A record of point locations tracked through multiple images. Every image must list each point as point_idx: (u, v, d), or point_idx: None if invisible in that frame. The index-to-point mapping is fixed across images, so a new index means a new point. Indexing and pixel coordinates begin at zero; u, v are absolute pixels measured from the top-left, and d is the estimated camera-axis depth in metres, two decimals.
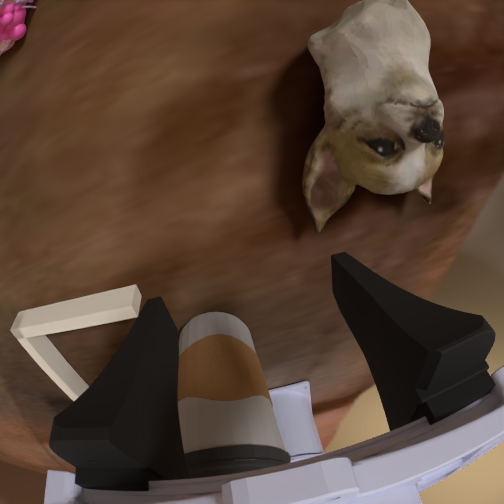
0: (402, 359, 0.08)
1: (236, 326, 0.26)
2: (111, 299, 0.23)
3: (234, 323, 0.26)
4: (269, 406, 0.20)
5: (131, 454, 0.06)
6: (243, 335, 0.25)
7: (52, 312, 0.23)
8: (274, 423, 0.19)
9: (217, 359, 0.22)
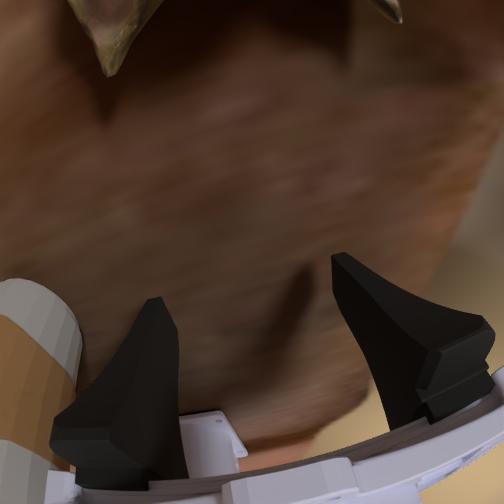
0: (402, 359, 0.08)
1: (32, 302, 0.12)
2: None
3: (31, 298, 0.12)
4: (22, 466, 0.06)
5: (131, 454, 0.06)
6: (37, 321, 0.11)
7: None
8: (18, 503, 0.05)
9: None
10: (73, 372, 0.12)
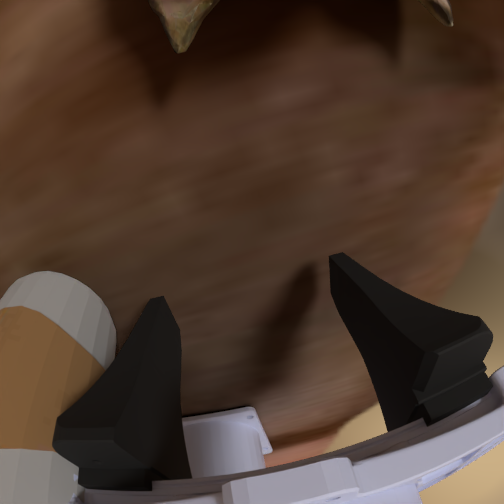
0: (399, 360, 0.08)
1: (66, 296, 0.12)
2: None
3: (64, 291, 0.12)
4: (69, 479, 0.06)
5: (135, 454, 0.06)
6: (73, 316, 0.11)
7: None
8: None
9: None
10: None
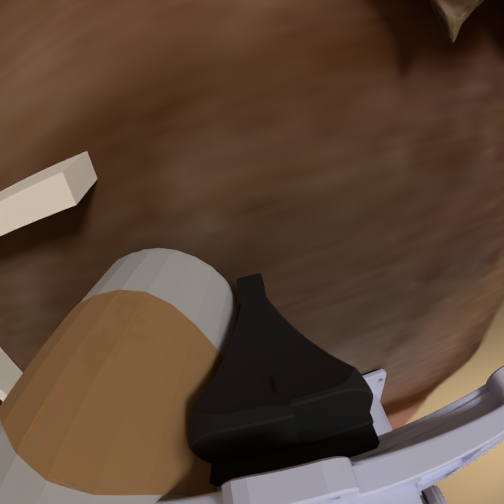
0: None
1: (204, 288, 0.11)
2: (33, 178, 0.09)
3: (201, 281, 0.11)
4: None
5: (296, 430, 0.06)
6: (211, 315, 0.10)
7: None
8: None
9: (97, 351, 0.07)
10: None
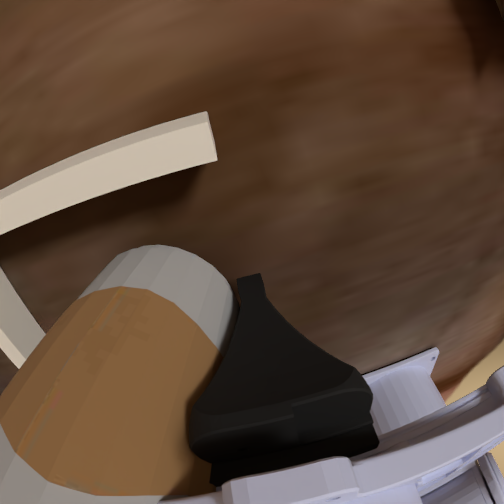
0: None
1: (205, 287, 0.11)
2: (148, 132, 0.09)
3: (202, 280, 0.11)
4: None
5: None
6: (213, 314, 0.10)
7: (8, 189, 0.09)
8: None
9: (98, 349, 0.07)
10: None
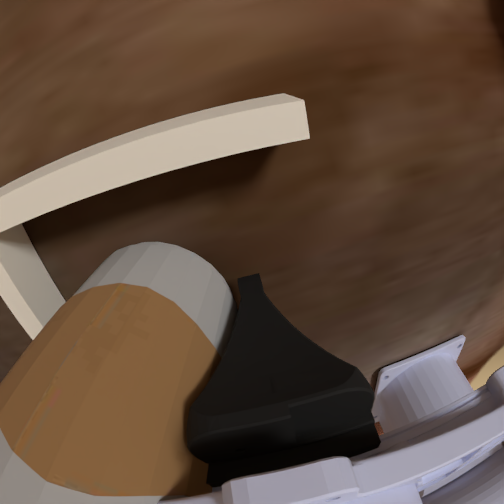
0: None
1: (205, 286, 0.11)
2: (232, 107, 0.09)
3: (201, 279, 0.11)
4: None
5: (294, 431, 0.06)
6: (211, 314, 0.10)
7: (61, 162, 0.09)
8: None
9: (97, 347, 0.07)
10: None
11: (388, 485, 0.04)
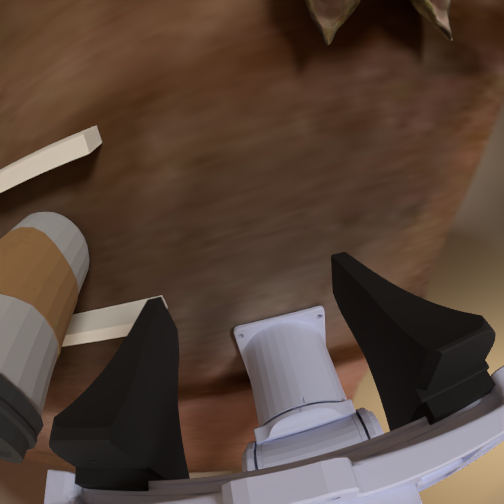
0: (402, 359, 0.08)
1: (62, 228, 0.18)
2: (62, 140, 0.16)
3: (61, 225, 0.18)
4: (35, 324, 0.12)
5: (131, 454, 0.06)
6: (64, 240, 0.17)
7: None
8: (26, 346, 0.11)
9: (7, 247, 0.14)
10: (79, 283, 0.18)
11: (388, 485, 0.04)
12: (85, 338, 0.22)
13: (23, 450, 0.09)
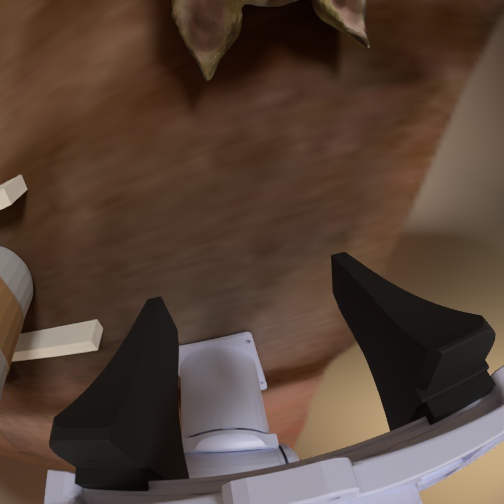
0: (402, 359, 0.08)
1: (7, 261, 0.19)
2: None
3: (6, 259, 0.19)
4: None
5: (131, 454, 0.06)
6: (8, 272, 0.18)
7: None
8: None
9: None
10: (24, 307, 0.19)
11: (388, 485, 0.04)
12: (35, 354, 0.23)
13: None
